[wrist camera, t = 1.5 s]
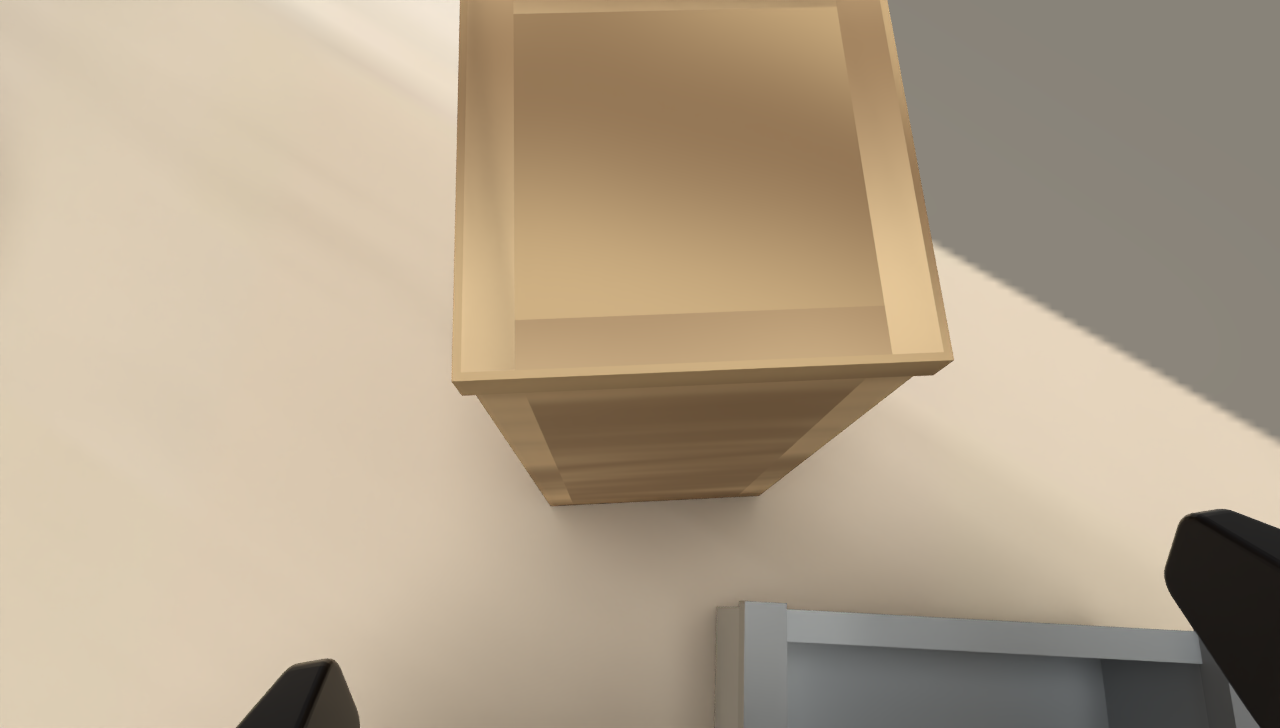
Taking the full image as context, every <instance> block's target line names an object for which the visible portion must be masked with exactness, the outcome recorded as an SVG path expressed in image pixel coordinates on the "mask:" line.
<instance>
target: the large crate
mask: <svg viewBox="0 0 1280 728" xmlns="http://www.w3.org/2000/svg"><path fill="white" fill-rule="evenodd" d="M714 728H1260V727H1259V726H1258V724H1257V723H1256V721H1255V720H1254V719H1253V717H1252V716H1251V714H1250V713H1249V711H1248V710H1247V709H1246V707H1245V706H1244V704H1243V703H1242V701H1241V700H1240V698H1239V697H1238V695H1237V694H1236V692H1235V691H1234V689H1233V688H1232V686H1231V685H1230V683H1229V682H1228V680H1227V679H1226V677H1225V676H1224V674H1223V673H1222V671H1221V670H1220V668H1219V667H1218V665H1217V664H1216V662H1215V661H1214V659H1213V658H1212V656H1211V655H1210V653H1209V652H1208V650H1207V649H1206V647H1205V646H1204V644H1203V643H1202V641H1201V640H1200V638H1199V637H1198V635H1197V634H1196V632H1195V631H1178V630H1160V629H1142V628H1123V627H1105V626H1087V625H1068V624H1050V623H1032V622H1013V621H995V620H977V619H958V618H940V617H921V616H903V615H885V614H866V613H848V612H830V611H811V610H793V609H787V603H770V602H752V601H739V607H717V617H716V666H715V715H714Z"/></svg>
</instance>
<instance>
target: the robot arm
mask: <svg viewBox="0 0 1280 728" xmlns="http://www.w3.org/2000/svg"><path fill="white" fill-rule="evenodd" d="M1164 578H1165V582H1166V585H1167V588H1168V590H1169V592H1170V594H1171V596H1172V597H1173V599H1174V600H1175V602H1176V603H1177V605H1178V606H1179V608H1180V609H1181V611H1182V612H1183V614H1184V615H1185V617H1186V618H1187V620H1188V621H1189V623H1190V624H1191V626H1192V627H1193V629H1194V631H1195V632H1196V634H1197V635H1198V637H1199V638H1200V640H1201V641H1202V643H1203V644H1204V646H1205V647H1206V649H1207V650H1208V652H1209V653H1210V655H1211V656H1212V658H1213V659H1214V661H1215V662H1216V664H1217V665H1218V667H1219V668H1220V670H1221V671H1222V673H1223V674H1224V676H1225V677H1226V679H1227V680H1228V682H1229V683H1230V685H1231V686H1232V688H1233V689H1234V691H1235V692H1236V694H1237V695H1238V697H1239V698H1240V700H1241V701H1242V703H1243V704H1244V706H1245V707H1246V709H1247V710H1248V711H1249V713H1250V714H1251V716H1252V717H1253V719H1254V720H1255V721H1256V723H1257V724H1258V726H1259V727H1260V728H1280V529H1279V528H1276V527H1273V526H1271V525H1268V524H1266V523H1263V522H1260V521H1258V520H1255V519H1252V518H1250V517H1247V516H1245V515H1242V514H1239V513H1237V512H1234V511H1231V510H1226V509H1215V510H1209V511H1203V512H1197V513H1191V514H1188V515H1186V516H1185V517H1184V518H1183V519H1181V521H1180V522H1179V525H1178V527H1177V530H1176V534H1175V537H1174V540H1173V543H1172V546H1171V550H1170V553H1169V556H1168V559H1167V562H1166V566H1165V570H1164ZM236 728H360V722H359V715H358V711H357V708H356V706H355V703H354V701H353V698H352V696H351V693H350V691H349V688H348V686H347V683H346V681H345V678H344V676H343V673H342V671H341V668H340V667H339V665H338V663H337V662H336V661H335V660H333V659H328V658H327V659H321V660H315V661H309V662H303V663H298V664H295V665H292V666H291V667H289V668H288V669H287V670H286V671H285V672H284V673H283V674H282V675H281V676H280V677H279V679H278V680H277V681H276V682H275V683H274V684H273V685H272V687H271V688H270V689H269V690H268V691H267V692H266V694H265V695H264V696H263V697H262V698H261V699H260V701H259V702H258V703H257V704H256V705H255V706H254V707H253V709H252V710H251V711H250V712H249V713H248V714H247V716H246V717H245V718H244V719H243V720H242V721H241V722H240V724H239V725H238V726H237V727H236Z"/></svg>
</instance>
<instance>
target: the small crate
mask: <svg viewBox="0 0 1280 728" xmlns="http://www.w3.org/2000/svg"><path fill="white" fill-rule="evenodd" d="M953 360H954V357H953V352H952V347H951V341H950V336H949V330H948V325H947V320H946V314H945V309H944V303H943V298H942V293H941V287H940V282H939V276H938V271H937V266H936V260H935V255H934V250H933V244H932V239H931V233H930V228H929V223H928V217H927V212H926V207H925V201H924V196H923V191H922V185H921V180H920V174H919V169H918V163H917V158H916V153H915V148H914V142H913V136H912V131H911V126H910V121H909V115H908V110H907V104H906V99H905V94H904V89H903V83H902V77H901V72H900V66H899V61H898V56H897V50H896V45H895V40H894V34H893V29H892V24H891V18H890V13H889V7H888V2H887V0H460V25H459V70H458V115H457V160H456V204H455V249H454V294H453V339H452V383H453V384H454V385H455V387H456V388H457V389H458V391H459V392H460V394H461V395H462V396H465V395H476V396H477V397H478V399H479V400H480V402H481V403H482V405H483V406H484V408H485V409H486V411H487V412H488V414H489V415H490V417H491V418H492V420H493V421H494V423H495V424H496V426H497V427H498V429H499V430H500V432H501V433H502V434H503V436H504V437H505V439H506V440H507V442H508V443H509V445H510V446H511V448H512V449H513V451H514V452H515V454H516V455H517V457H518V458H519V460H520V461H521V463H522V464H523V466H524V467H525V469H526V470H527V472H528V473H529V475H530V476H531V478H532V479H533V481H534V482H535V484H536V485H537V486H538V488H539V489H540V491H541V492H542V494H543V495H544V497H545V498H546V500H547V501H548V503H549V504H550V506H562V505H582V504H602V503H622V502H642V501H662V500H682V499H703V498H723V497H743V496H759V495H761V494H762V493H763V492H764V491H766V490H767V489H768V488H770V487H771V486H772V485H773V484H775V483H776V482H777V481H779V480H780V479H781V478H782V477H784V476H785V475H786V474H788V473H789V472H790V471H791V470H793V469H794V468H795V467H797V466H798V465H799V464H801V463H802V462H803V461H804V460H806V459H807V458H808V457H810V456H811V455H812V454H813V453H815V452H816V451H817V450H819V449H820V448H821V447H822V446H824V445H825V444H826V443H828V442H829V441H830V440H831V439H833V438H834V437H835V436H837V435H838V434H839V433H840V432H842V431H843V430H844V429H846V428H847V427H848V426H849V425H851V424H852V423H853V422H855V421H856V420H857V419H858V418H860V417H861V416H862V415H864V414H865V413H866V412H867V411H869V410H870V409H871V408H873V407H874V406H875V405H877V404H878V403H879V402H880V401H882V400H883V399H884V398H886V397H887V396H888V395H889V394H891V393H892V392H893V391H895V390H896V389H897V388H898V387H900V386H901V385H902V384H904V383H905V382H906V381H907V380H909V379H910V378H911V377H913V376H926V375H934V374H936V373H937V372H938V371H940V370H941V369H942V368H944V367H945V366H947V365H948V364H949V363H951V362H952V361H953Z"/></svg>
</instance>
